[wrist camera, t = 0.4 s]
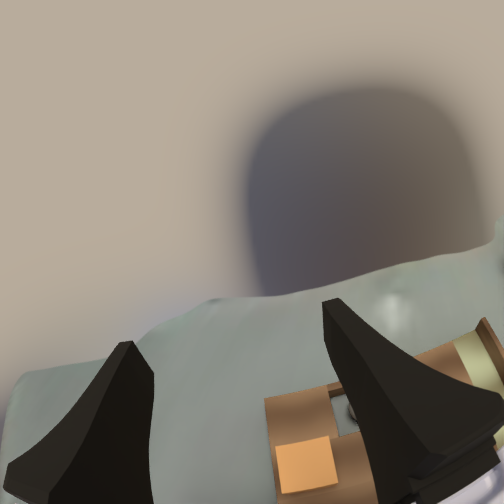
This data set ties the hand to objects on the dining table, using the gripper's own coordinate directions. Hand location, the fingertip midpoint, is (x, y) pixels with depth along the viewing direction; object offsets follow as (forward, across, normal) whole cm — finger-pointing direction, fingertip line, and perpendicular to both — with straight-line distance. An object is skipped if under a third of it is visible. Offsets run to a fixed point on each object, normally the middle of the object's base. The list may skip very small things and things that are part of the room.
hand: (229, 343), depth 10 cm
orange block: (0, -2, +18) cm, 18 cm away
